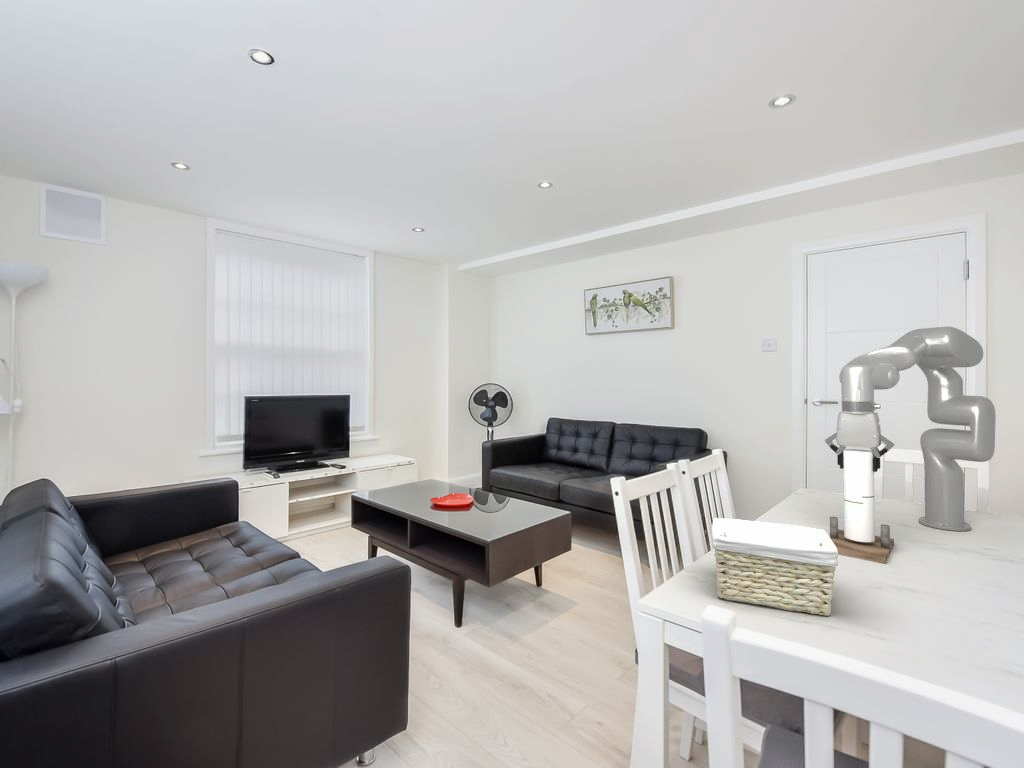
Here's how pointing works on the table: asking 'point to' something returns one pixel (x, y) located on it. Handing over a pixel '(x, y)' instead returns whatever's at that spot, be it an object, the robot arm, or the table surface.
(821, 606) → the storage basket
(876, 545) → the board
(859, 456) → the cylindrical container
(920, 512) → the table surface
